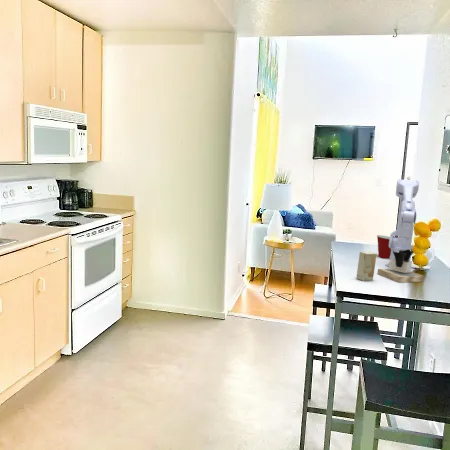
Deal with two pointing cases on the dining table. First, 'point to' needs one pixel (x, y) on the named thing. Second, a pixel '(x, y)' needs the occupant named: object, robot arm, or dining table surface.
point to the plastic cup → (383, 247)
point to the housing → (404, 269)
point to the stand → (400, 276)
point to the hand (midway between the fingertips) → (401, 266)
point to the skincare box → (366, 266)
